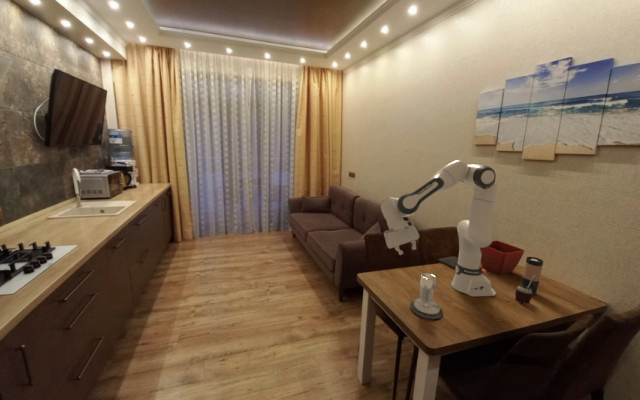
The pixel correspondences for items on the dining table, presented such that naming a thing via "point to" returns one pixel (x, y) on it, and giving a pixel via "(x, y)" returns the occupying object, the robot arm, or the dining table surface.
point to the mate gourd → (524, 293)
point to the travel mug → (532, 273)
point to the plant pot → (500, 257)
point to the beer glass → (427, 289)
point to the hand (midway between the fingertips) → (408, 252)
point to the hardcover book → (449, 261)
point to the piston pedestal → (426, 310)
